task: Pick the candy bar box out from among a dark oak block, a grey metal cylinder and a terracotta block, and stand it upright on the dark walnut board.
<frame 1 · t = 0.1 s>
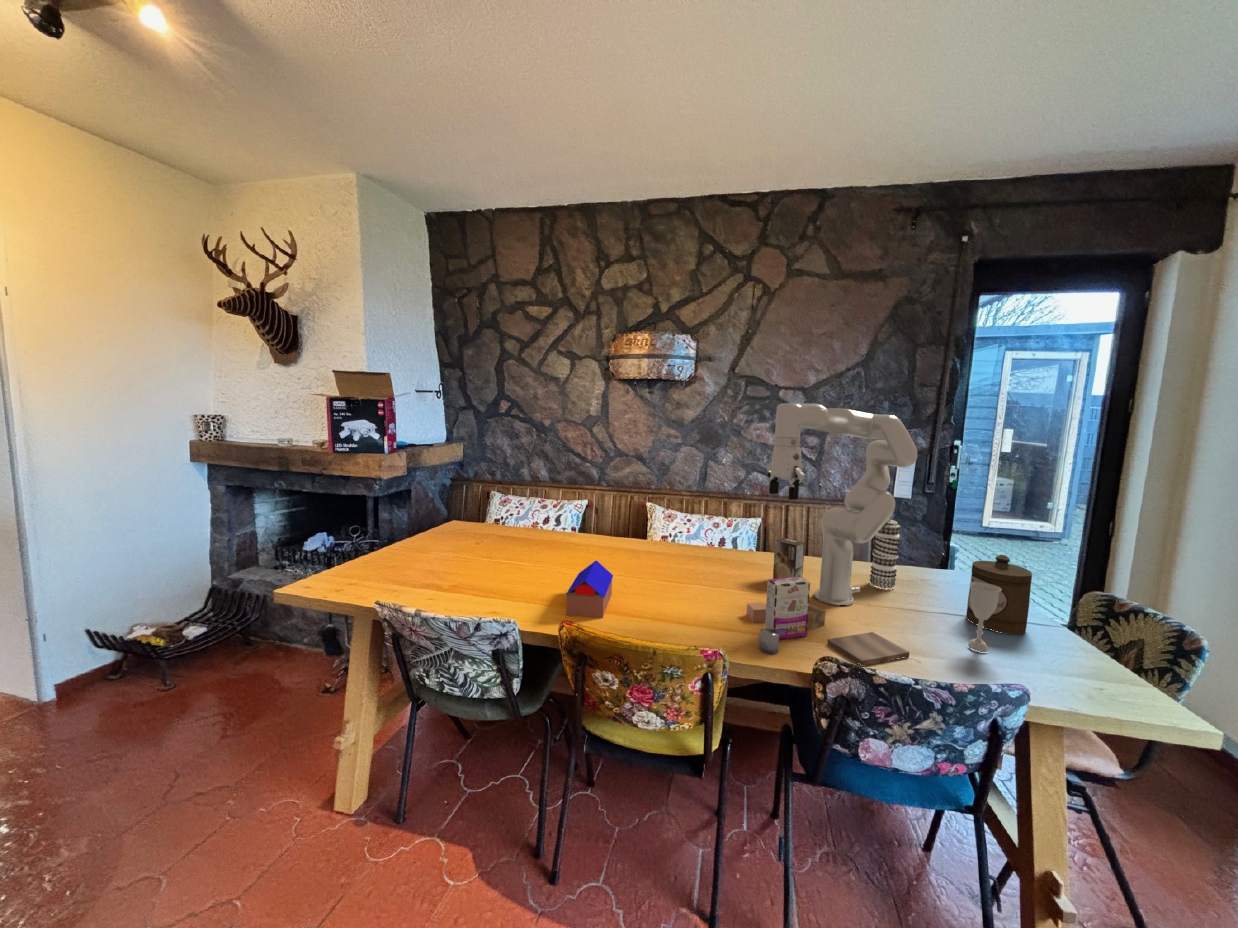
hand: (783, 496, 157), 37 cm above the table, tool pointing down, fingers open, 9 cm apart
coffee box: (787, 583, 183), on the table
wooden container: (994, 624, 153), on the table
grey metal cylinder: (768, 649, 132), on the table
decorative candle: (881, 586, 183), on the table
candy bar box: (784, 635, 141), on the table
chalice: (977, 649, 136), on the table
terracotta block: (757, 618, 152), on the table
house: (590, 605, 159), on the table
walnut board: (867, 650, 133), on the table
dark oak block: (809, 624, 149), on the table
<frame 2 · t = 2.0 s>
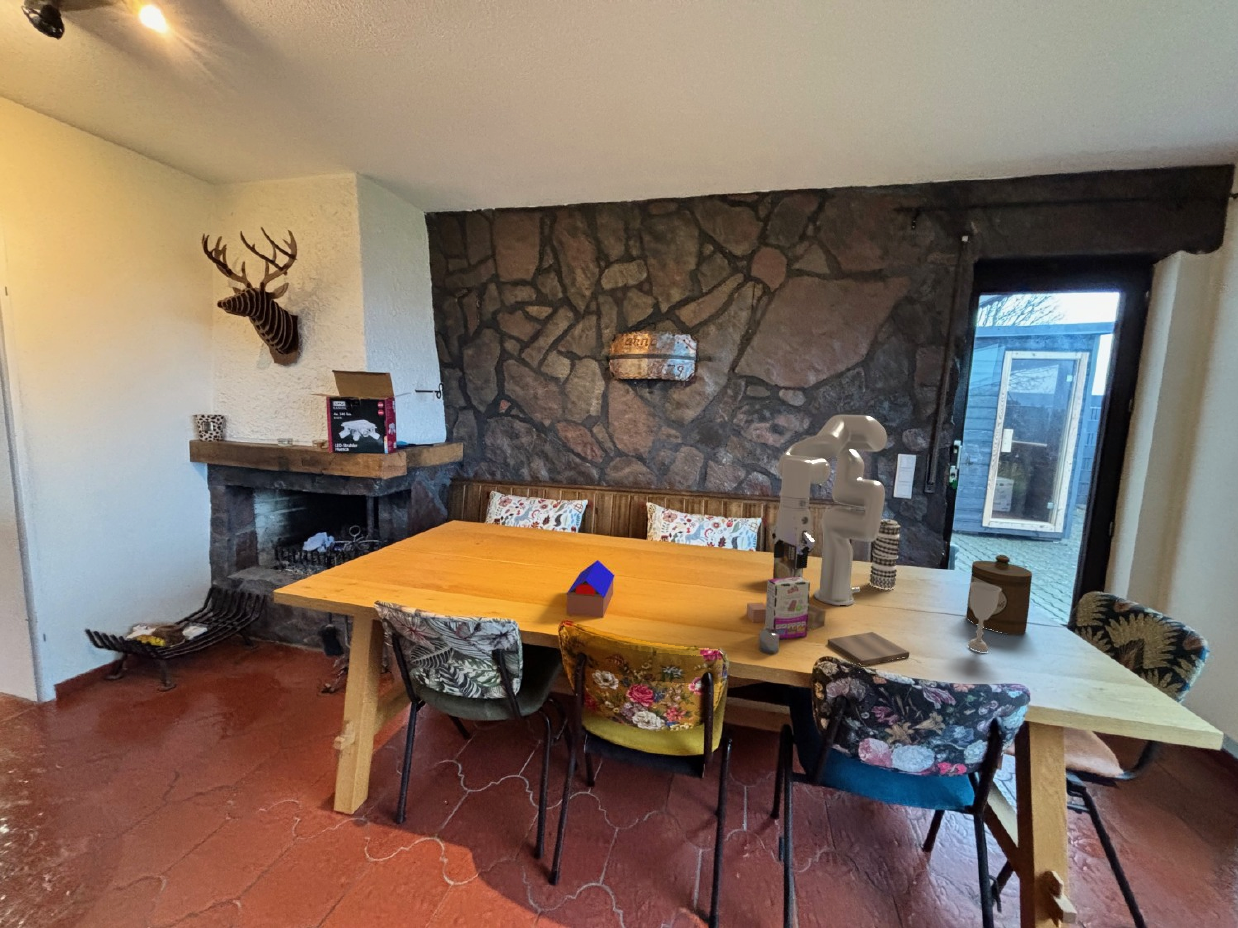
hand: (789, 562, 138), 22 cm above the table, tool pointing down, fingers open, 9 cm apart
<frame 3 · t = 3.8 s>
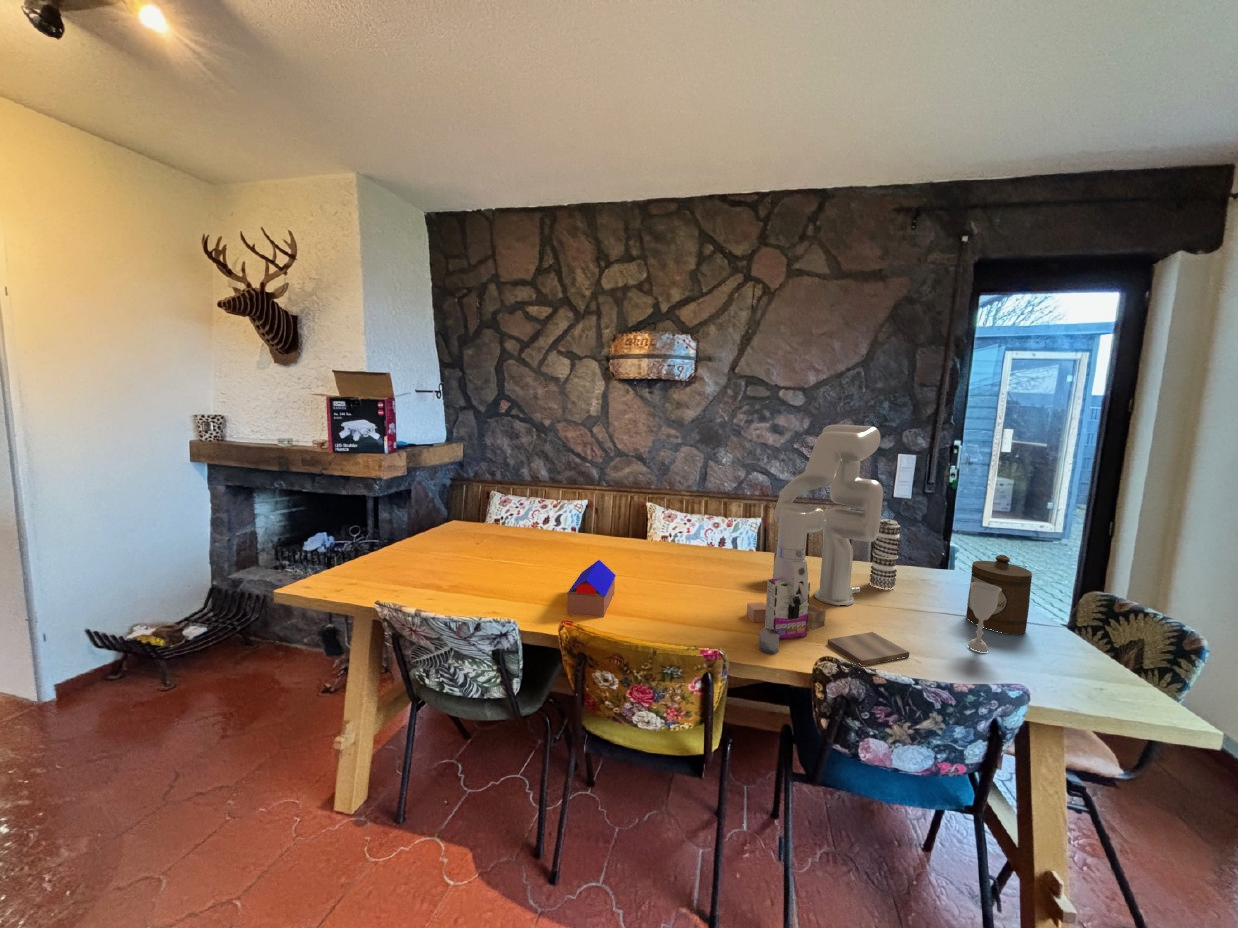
hand: (786, 613, 140), 6 cm above the table, tool pointing down, fingers closed on candy bar box, 5 cm apart
candy bar box: (784, 635, 141), on the table, touching gripper
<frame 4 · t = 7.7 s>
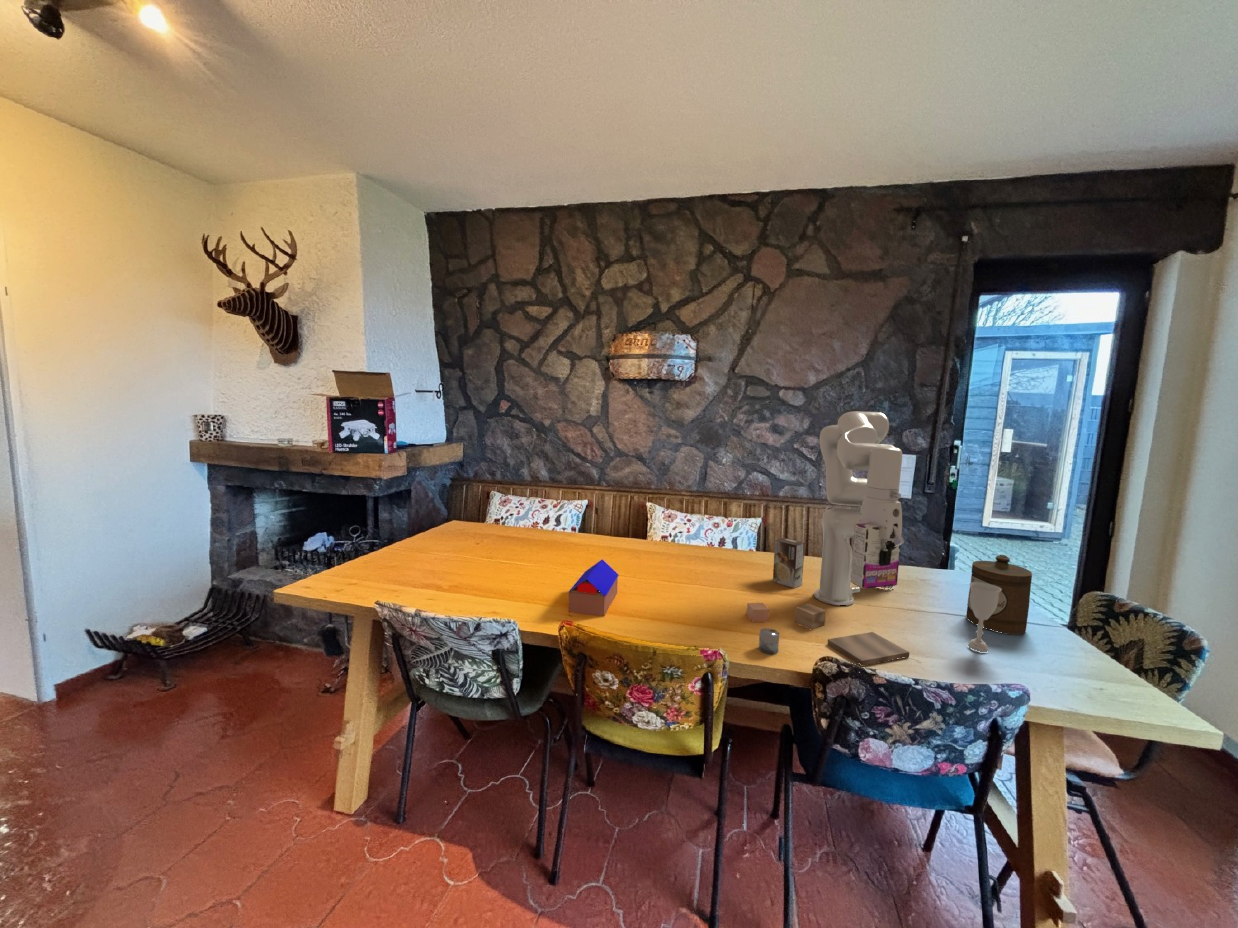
hand: (875, 560, 130), 25 cm above the table, tool pointing down, fingers closed on candy bar box, 5 cm apart
candy bar box: (872, 584, 131), point 19 cm above the table, touching gripper
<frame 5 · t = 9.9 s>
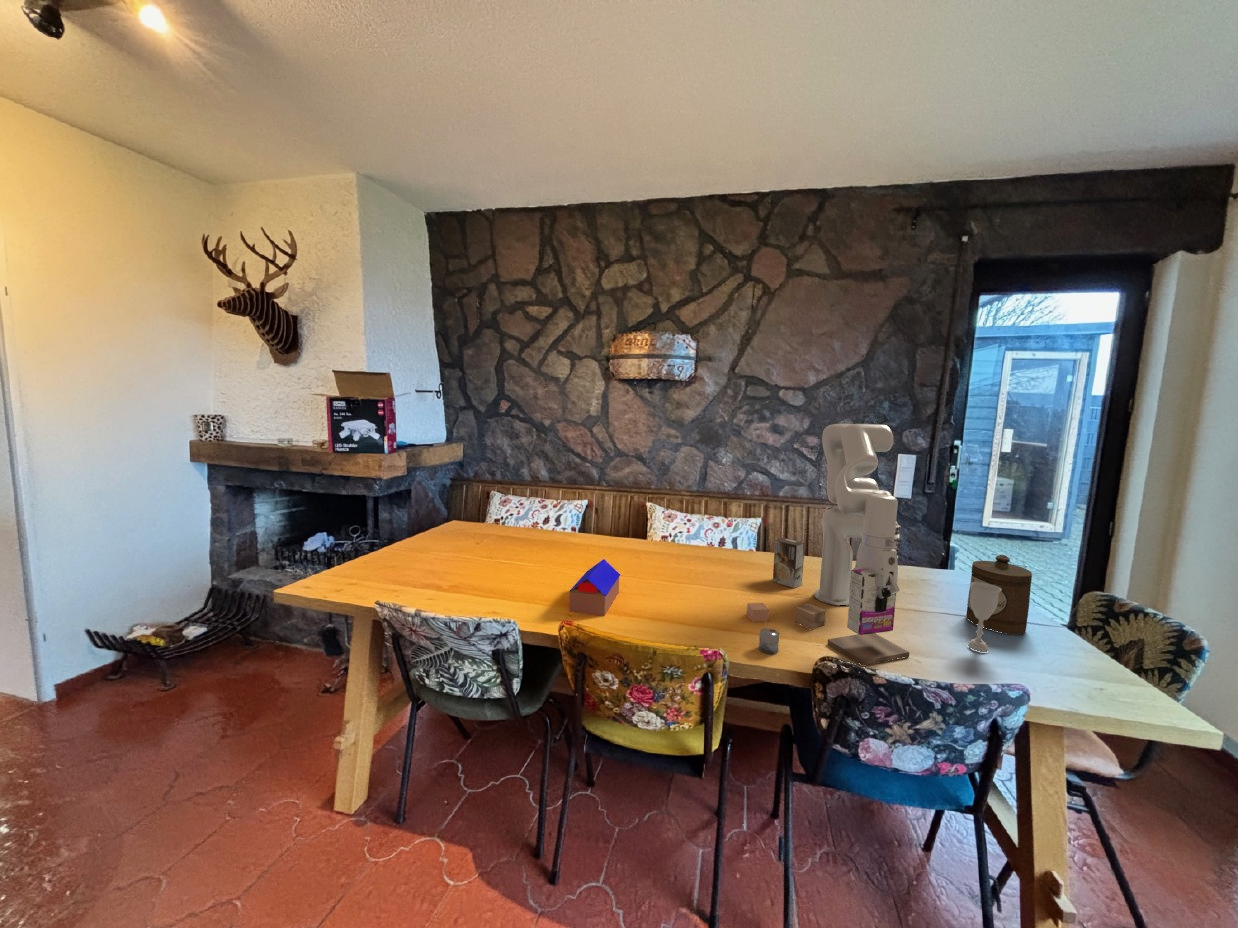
hand: (871, 606, 132), 13 cm above the table, tool pointing down, fingers closed on candy bar box, 5 cm apart
candy bar box: (869, 630, 133), point 6 cm above the table, touching gripper
when the fingers open (9 cm above the table, at t = 11.5 s): candy bar box drops 1 cm, resting on walnut board.
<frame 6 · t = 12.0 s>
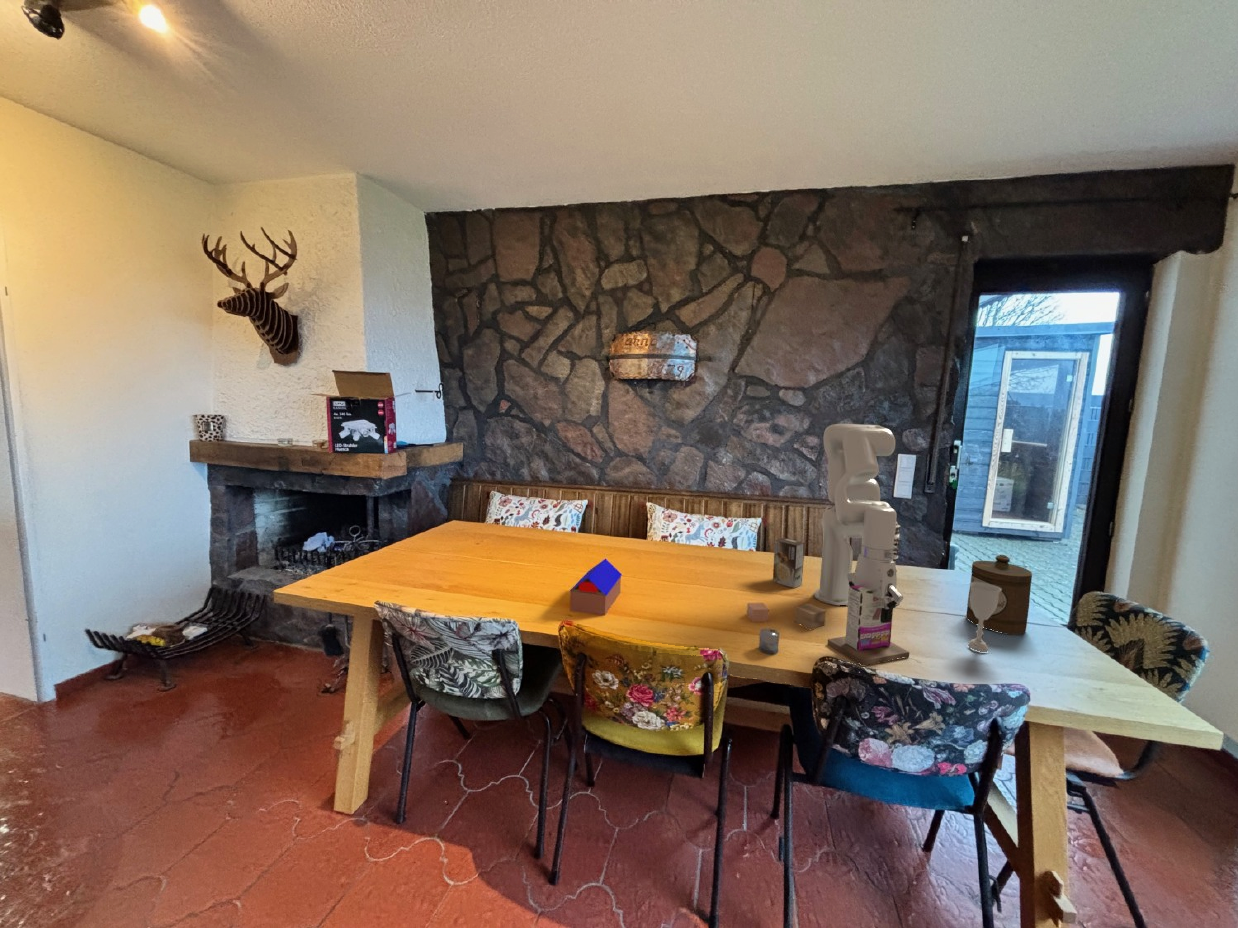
hand: (870, 614, 132), 10 cm above the table, tool pointing down, fingers open, 9 cm apart
candy bar box: (866, 645, 134), point 1 cm above the table, touching walnut board
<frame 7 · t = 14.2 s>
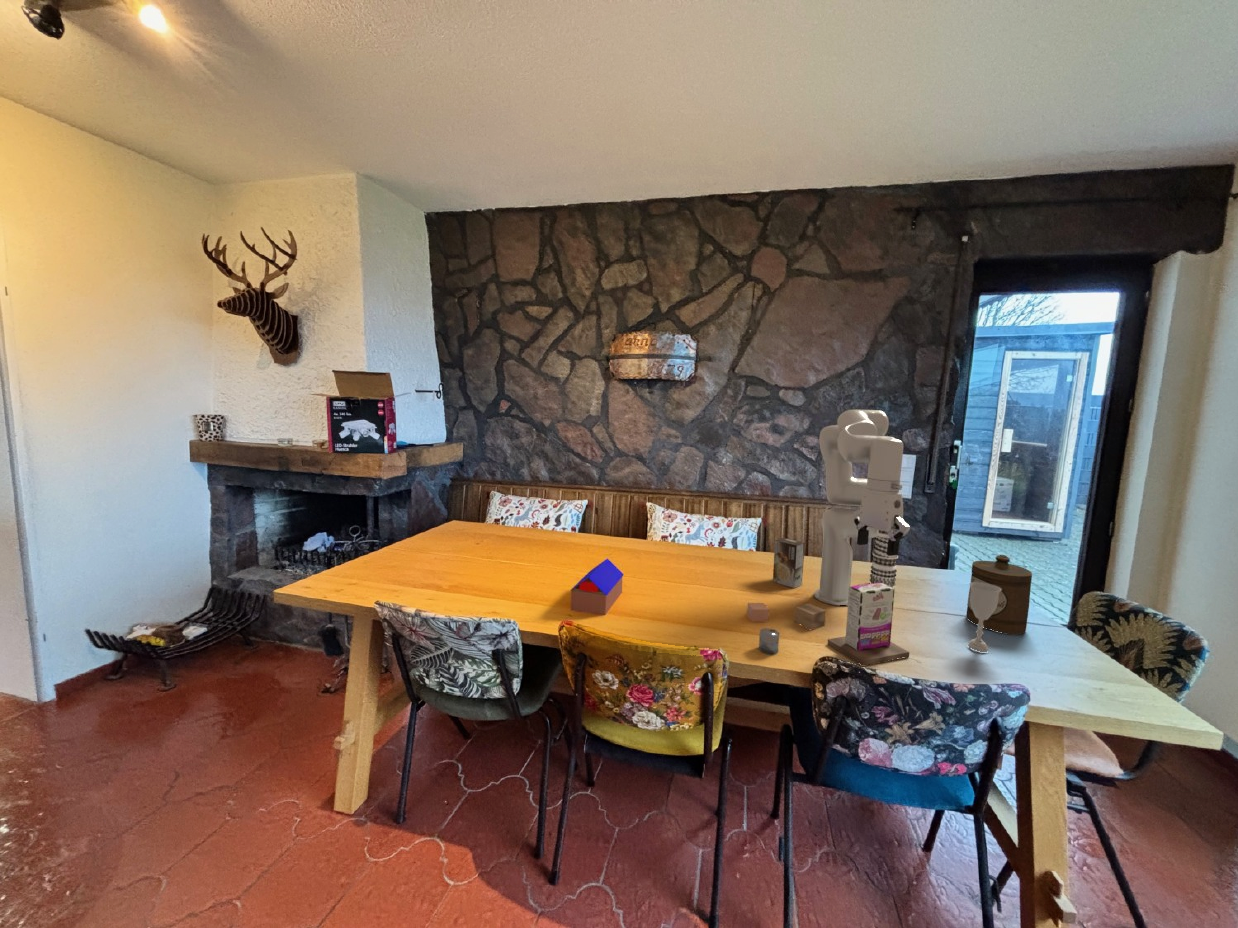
hand: (876, 549, 130), 28 cm above the table, tool pointing down, fingers open, 9 cm apart
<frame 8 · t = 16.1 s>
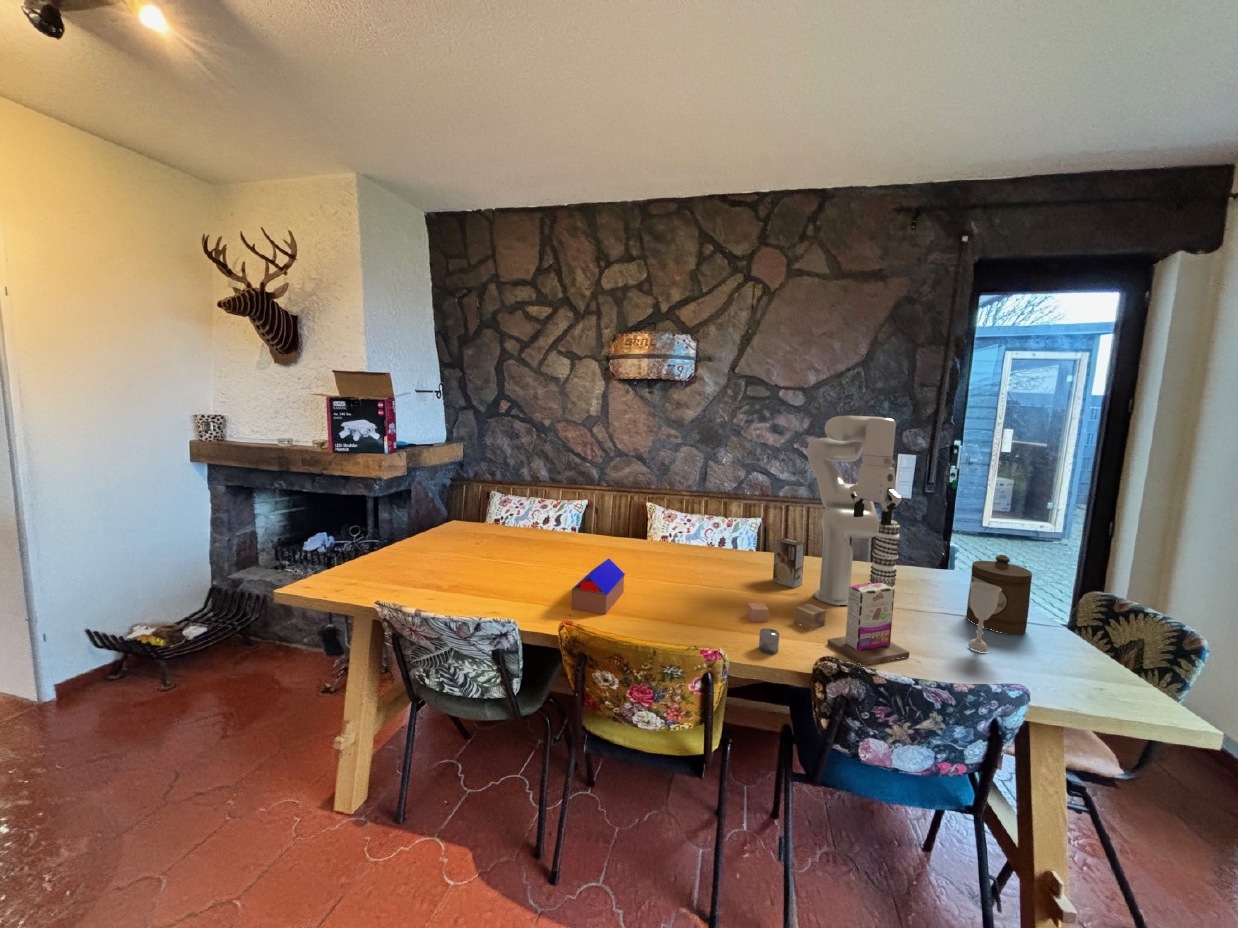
hand: (871, 520, 141), 33 cm above the table, tool pointing down, fingers open, 9 cm apart
at the end: candy bar box inside the target area on the walnut board (0.4 cm from its centre), point 1.3 cm above the walnut board's base; candy bar box tilted 0°; the gripper is holding nothing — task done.
